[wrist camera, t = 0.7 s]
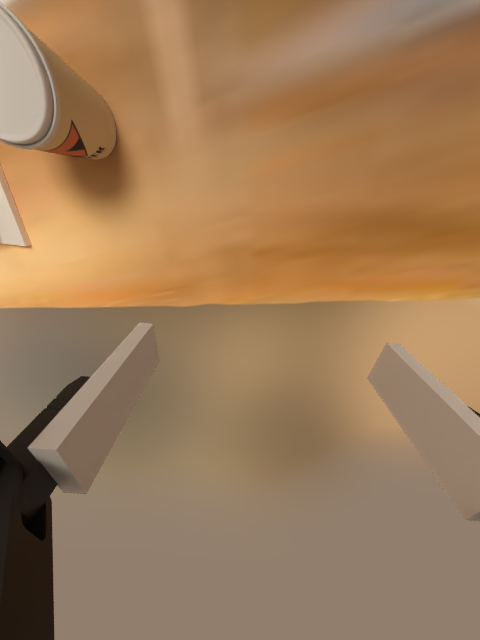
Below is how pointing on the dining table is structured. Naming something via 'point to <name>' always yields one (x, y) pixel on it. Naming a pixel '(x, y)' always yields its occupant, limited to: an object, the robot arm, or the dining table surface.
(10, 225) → the board
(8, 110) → the coffee cup
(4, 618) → the robot arm
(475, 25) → the dining table surface
